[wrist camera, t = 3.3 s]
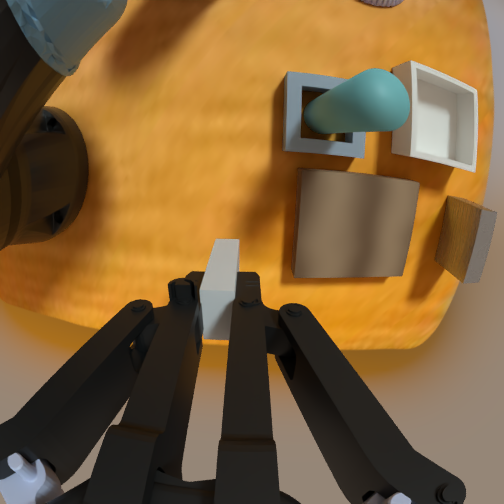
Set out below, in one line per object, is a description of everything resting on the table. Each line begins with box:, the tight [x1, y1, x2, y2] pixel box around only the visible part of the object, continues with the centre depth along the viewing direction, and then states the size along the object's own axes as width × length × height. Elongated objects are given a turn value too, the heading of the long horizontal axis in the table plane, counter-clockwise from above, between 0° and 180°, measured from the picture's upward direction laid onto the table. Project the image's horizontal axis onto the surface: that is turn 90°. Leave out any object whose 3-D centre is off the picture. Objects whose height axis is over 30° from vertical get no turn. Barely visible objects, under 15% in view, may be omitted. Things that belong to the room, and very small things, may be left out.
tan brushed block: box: [291, 168, 420, 278], centre depth 25 cm, size 12×10×2 cm
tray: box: [391, 60, 478, 172], centre depth 20 cm, size 9×9×4 cm
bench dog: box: [435, 196, 497, 283], centre depth 24 cm, size 3×8×6 cm, turn 179°
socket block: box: [282, 71, 366, 158], centre depth 21 cm, size 7×7×2 cm
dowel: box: [304, 68, 410, 134], centre depth 16 cm, size 3×3×12 cm
